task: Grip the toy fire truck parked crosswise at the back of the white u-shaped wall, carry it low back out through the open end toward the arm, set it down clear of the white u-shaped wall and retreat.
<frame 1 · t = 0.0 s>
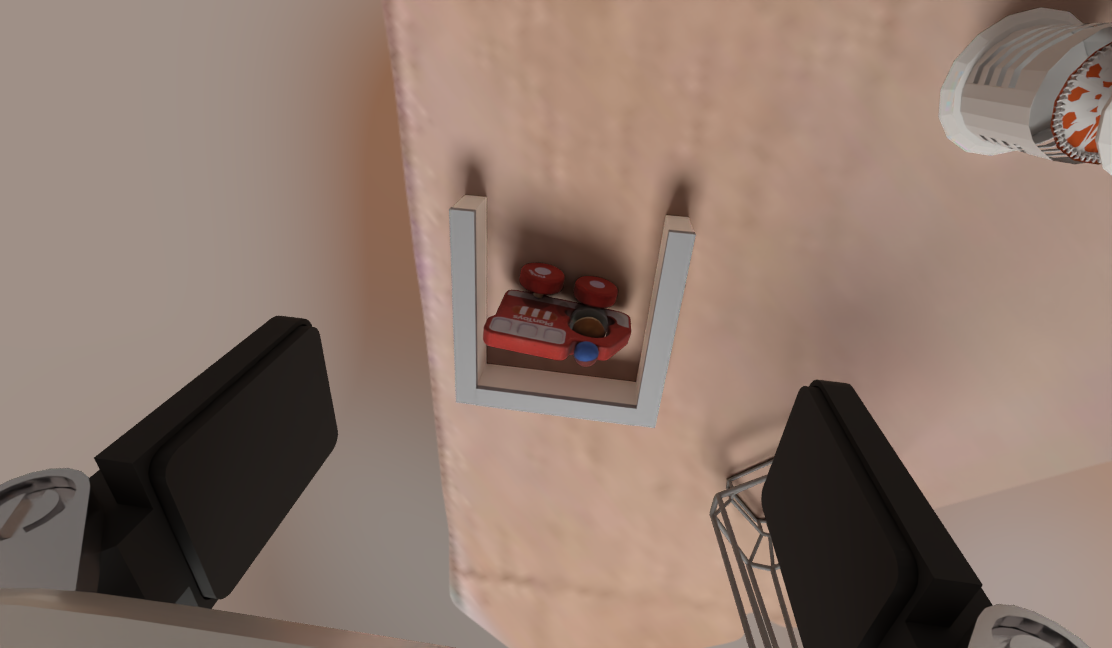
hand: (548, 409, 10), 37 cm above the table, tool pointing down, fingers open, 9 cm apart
geometric lantern: (779, 482, 58), on the table
toy fire truck: (567, 299, 50), on the table
white u-shaped wall: (566, 301, 50), on the table
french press: (1026, 80, 37), on the table
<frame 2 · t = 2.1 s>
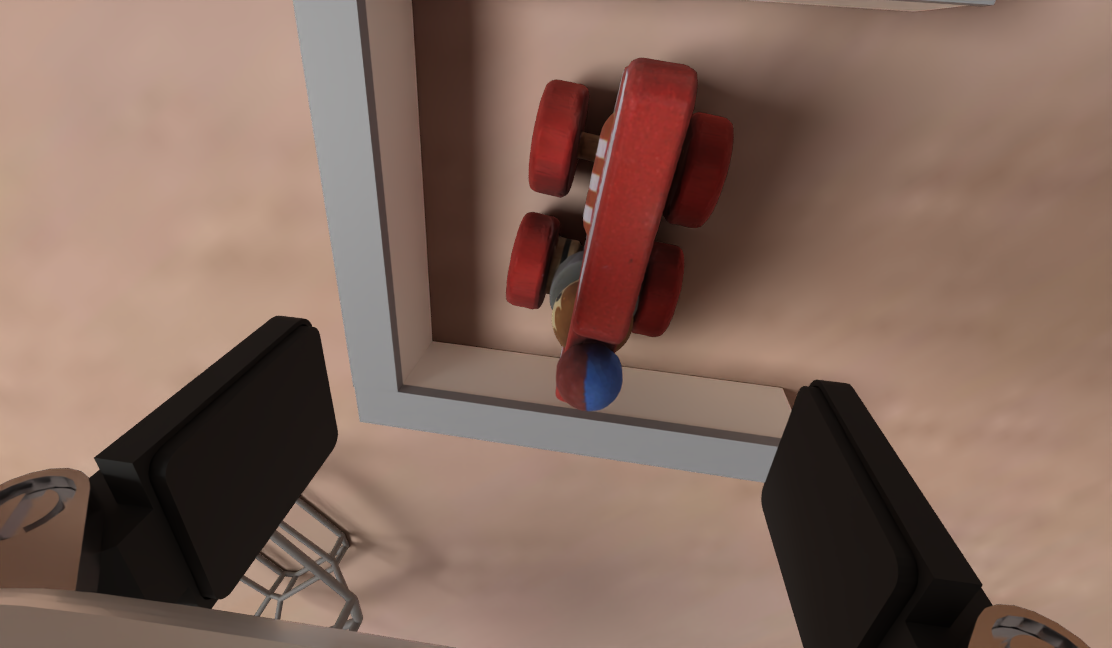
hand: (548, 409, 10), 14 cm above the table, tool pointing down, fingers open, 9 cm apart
geometric lantern: (293, 531, 37), on the table
toy fire truck: (611, 208, 23), on the table
white u-shaped wall: (610, 210, 22), on the table
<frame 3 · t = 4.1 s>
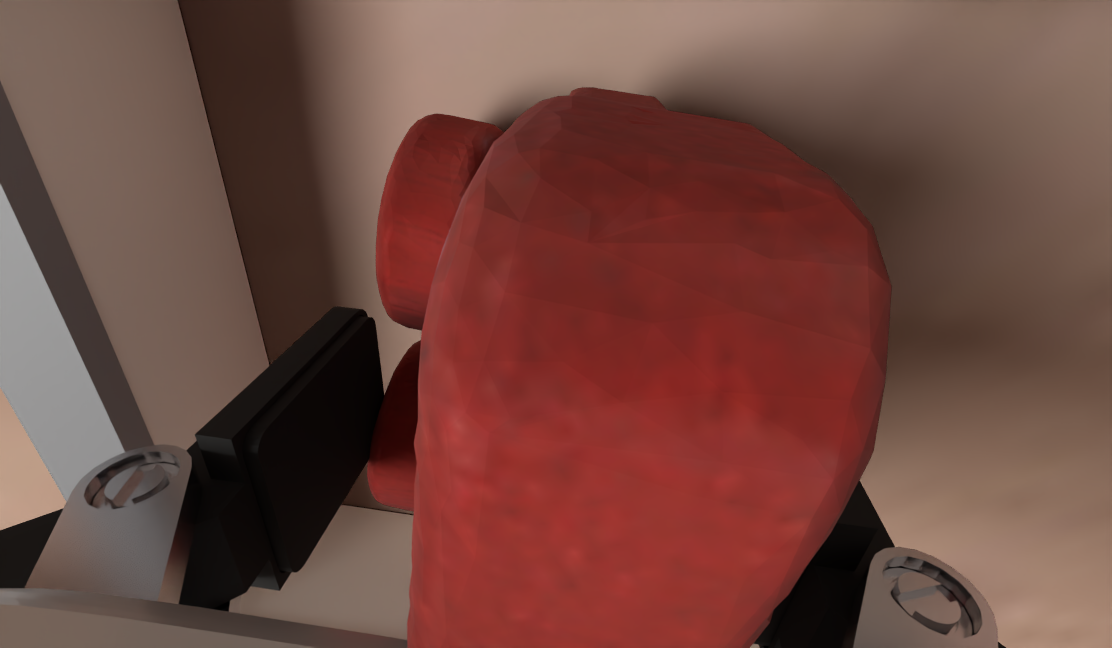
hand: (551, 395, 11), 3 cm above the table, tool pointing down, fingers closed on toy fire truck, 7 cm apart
toy fire truck: (566, 321, 13), on the table, touching gripper
white u-shaped wall: (566, 325, 13), on the table
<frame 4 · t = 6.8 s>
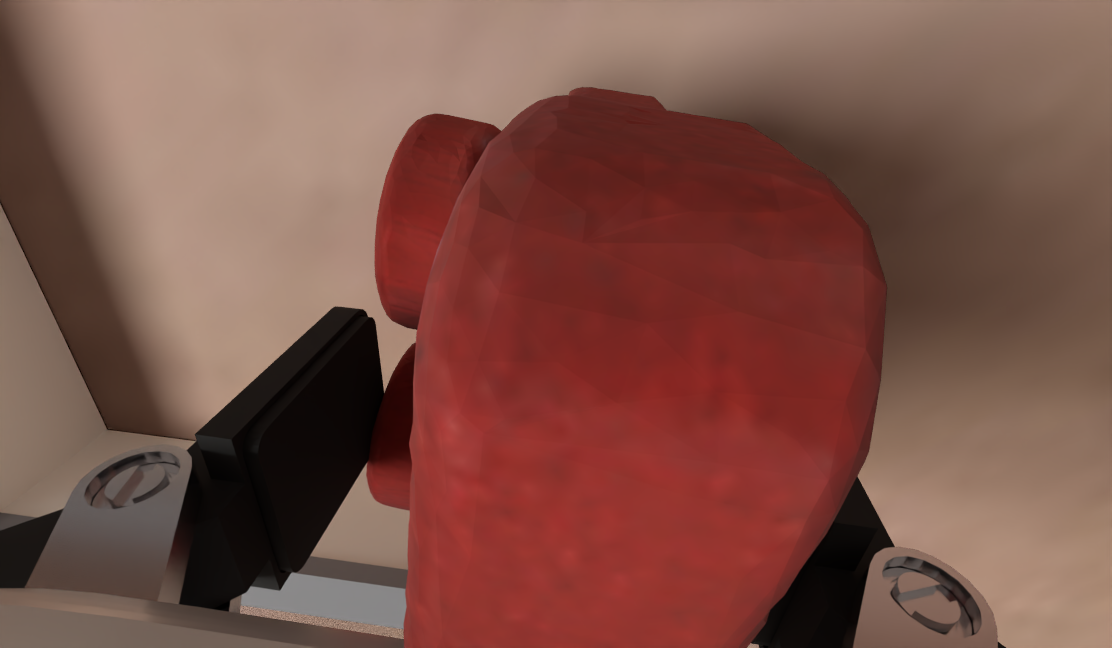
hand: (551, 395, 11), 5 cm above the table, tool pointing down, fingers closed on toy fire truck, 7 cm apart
toy fire truck: (565, 322, 13), point 2 cm above the table, touching gripper
white u-shaped wall: (277, 259, 15), on the table
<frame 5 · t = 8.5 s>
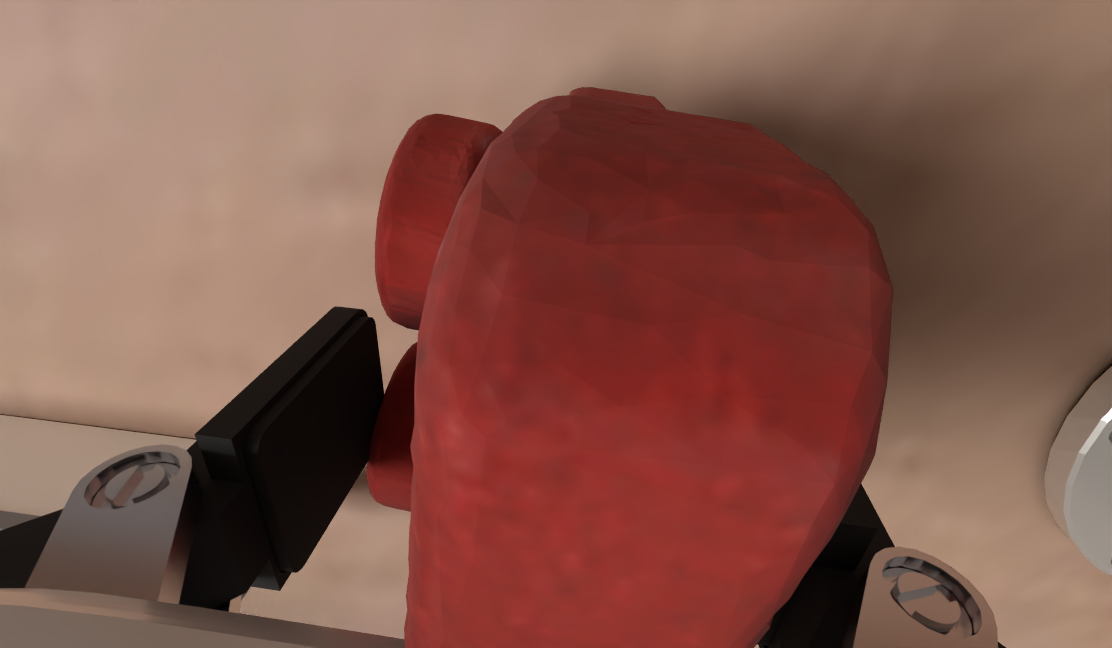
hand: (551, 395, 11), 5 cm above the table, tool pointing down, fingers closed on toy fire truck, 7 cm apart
toy fire truck: (565, 322, 13), point 2 cm above the table, touching gripper
when the fingers open (4 cm above the table, at t = 9.7 s): toy fire truck stays where it is, on the table.
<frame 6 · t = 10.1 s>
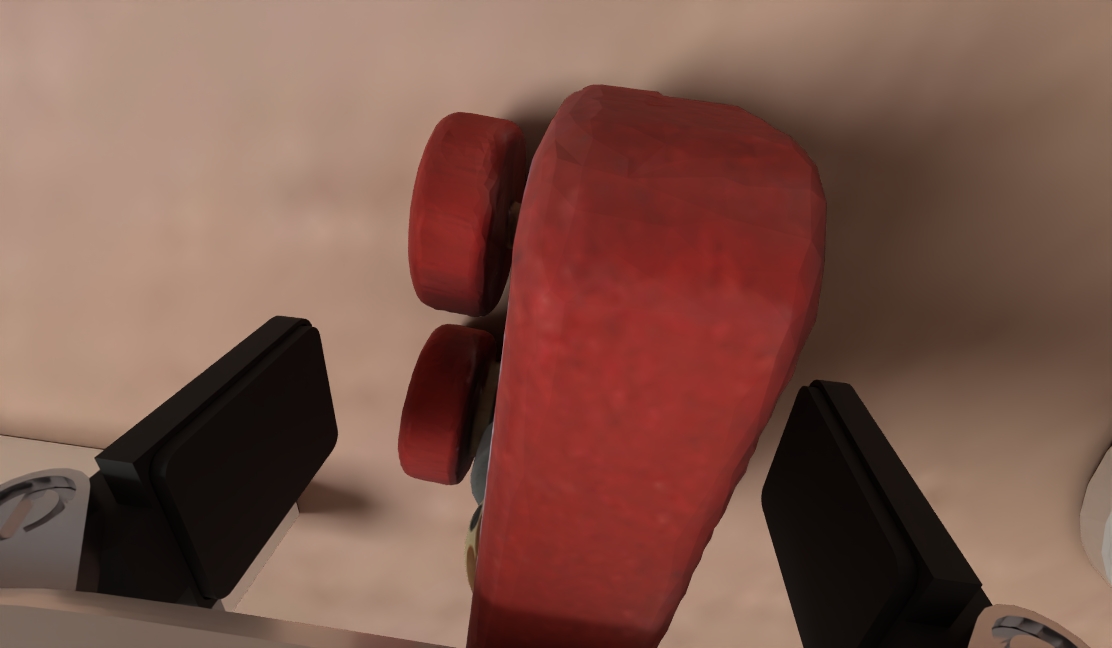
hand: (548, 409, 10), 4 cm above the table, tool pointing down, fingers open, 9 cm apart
toy fire truck: (577, 306, 14), on the table
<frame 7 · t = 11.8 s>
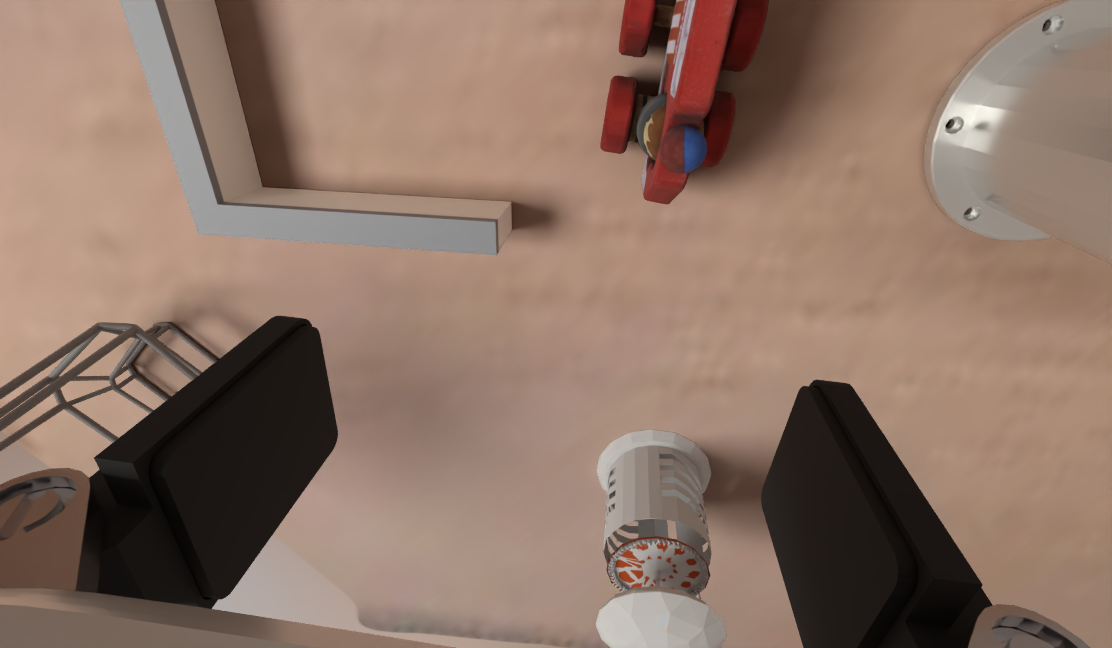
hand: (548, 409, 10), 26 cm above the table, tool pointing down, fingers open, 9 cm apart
geometric lantern: (197, 378, 47), on the table
toy fire truck: (673, 74, 30), on the table
white u-shaped wall: (357, 64, 32), on the table
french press: (657, 478, 45), on the table
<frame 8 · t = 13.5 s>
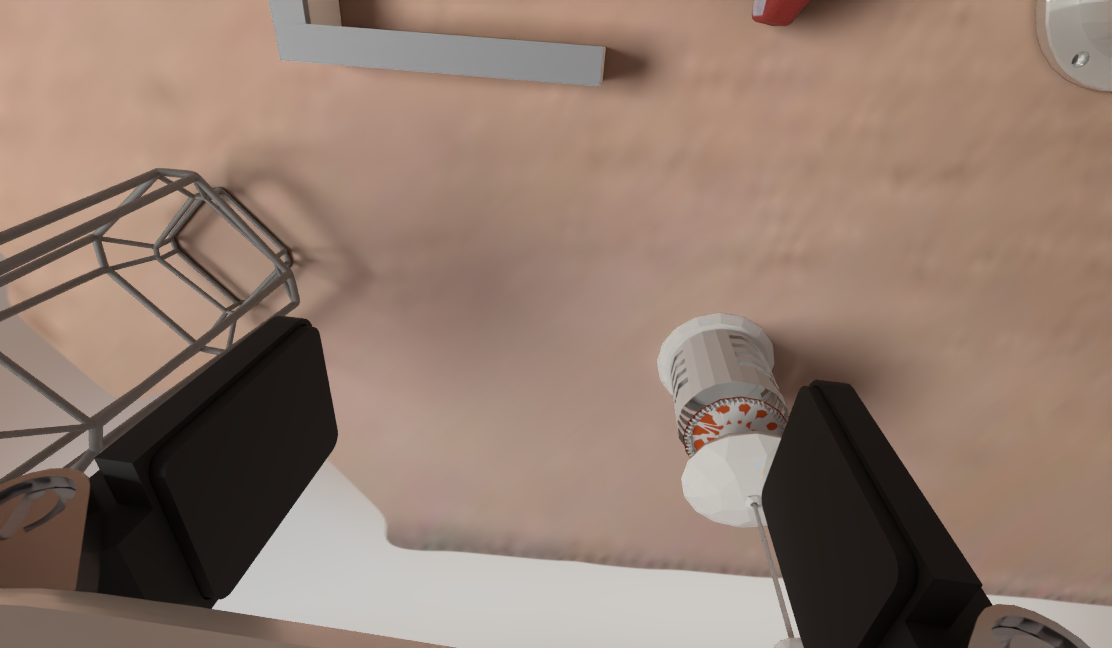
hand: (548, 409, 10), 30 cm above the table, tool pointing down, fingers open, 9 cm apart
geometric lantern: (244, 255, 45), on the table
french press: (717, 370, 45), on the table
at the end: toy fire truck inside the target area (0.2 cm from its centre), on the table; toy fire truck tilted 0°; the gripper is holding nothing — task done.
